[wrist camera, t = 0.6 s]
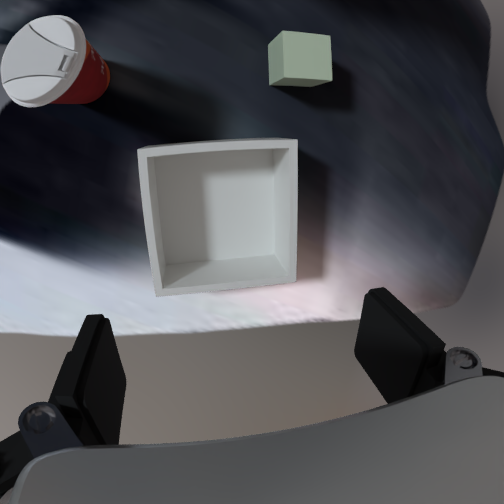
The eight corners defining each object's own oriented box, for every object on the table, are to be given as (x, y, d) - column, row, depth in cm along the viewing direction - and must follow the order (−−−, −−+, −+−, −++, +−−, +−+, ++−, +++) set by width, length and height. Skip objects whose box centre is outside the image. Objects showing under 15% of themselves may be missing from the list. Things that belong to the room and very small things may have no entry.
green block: (267, 45, 31) (282, 30, 26) (309, 48, 32) (330, 35, 26) (269, 85, 33) (284, 77, 27) (311, 86, 34) (332, 80, 28)
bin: (147, 146, 33) (137, 149, 26) (277, 137, 35) (297, 139, 29) (160, 268, 38) (156, 296, 32) (278, 257, 41) (296, 281, 34)
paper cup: (130, 57, 29) (98, 18, 16) (103, 120, 31) (55, 116, 18) (72, 42, 26) (19, 6, 14) (47, 104, 28) (-19, 96, 16)
